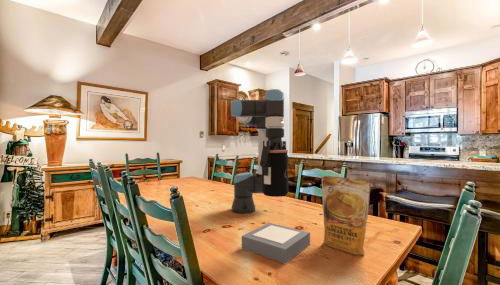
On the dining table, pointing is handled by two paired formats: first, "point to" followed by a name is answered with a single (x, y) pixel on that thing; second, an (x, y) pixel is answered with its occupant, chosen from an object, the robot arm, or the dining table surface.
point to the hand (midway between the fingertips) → (275, 182)
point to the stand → (276, 242)
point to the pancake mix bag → (345, 213)
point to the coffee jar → (277, 174)
